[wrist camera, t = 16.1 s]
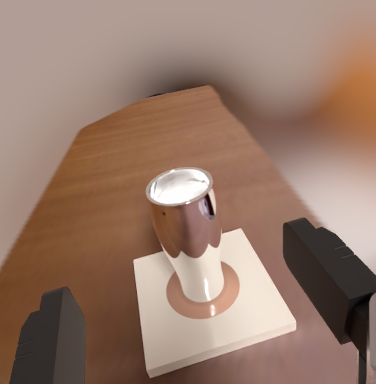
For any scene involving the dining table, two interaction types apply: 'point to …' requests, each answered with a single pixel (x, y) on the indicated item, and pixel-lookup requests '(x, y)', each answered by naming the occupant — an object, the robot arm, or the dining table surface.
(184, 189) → the shiny silver metal cup
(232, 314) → the ceramic tile
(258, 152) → the dining table surface
